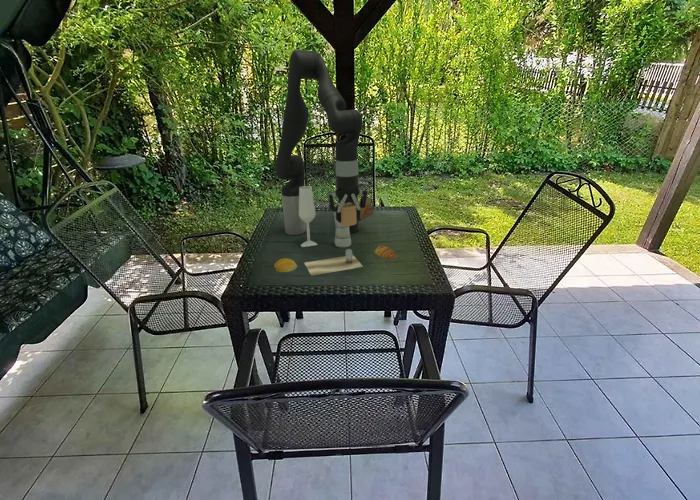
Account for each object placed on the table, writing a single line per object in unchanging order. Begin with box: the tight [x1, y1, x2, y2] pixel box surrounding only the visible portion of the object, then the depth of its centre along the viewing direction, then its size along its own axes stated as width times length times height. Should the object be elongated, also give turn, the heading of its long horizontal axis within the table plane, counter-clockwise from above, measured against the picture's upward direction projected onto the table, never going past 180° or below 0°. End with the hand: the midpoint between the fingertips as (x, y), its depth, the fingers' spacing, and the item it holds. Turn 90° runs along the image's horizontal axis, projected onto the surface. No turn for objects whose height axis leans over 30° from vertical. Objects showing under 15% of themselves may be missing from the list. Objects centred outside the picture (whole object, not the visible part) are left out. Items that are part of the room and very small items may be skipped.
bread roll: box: [273, 257, 298, 273], centre depth 152 cm, size 8×9×4 cm
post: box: [345, 248, 353, 264], centre depth 154 cm, size 2×2×5 cm
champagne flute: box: [299, 185, 318, 248], centre depth 169 cm, size 7×7×24 cm
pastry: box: [373, 245, 398, 260], centre depth 161 cm, size 9×7×4 cm
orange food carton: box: [358, 197, 374, 220], centre depth 204 cm, size 15×3×8 cm, turn 147°
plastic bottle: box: [332, 198, 352, 249], centre depth 167 cm, size 6×7×20 cm
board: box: [303, 254, 364, 276], centre depth 153 cm, size 11×19×2 cm, turn 109°
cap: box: [340, 203, 357, 226], centre depth 147 cm, size 6×6×6 cm
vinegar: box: [349, 197, 359, 234], centre depth 184 cm, size 7×7×20 cm
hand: (348, 220), depth 148 cm, fingers closed on cap, 5 cm apart
